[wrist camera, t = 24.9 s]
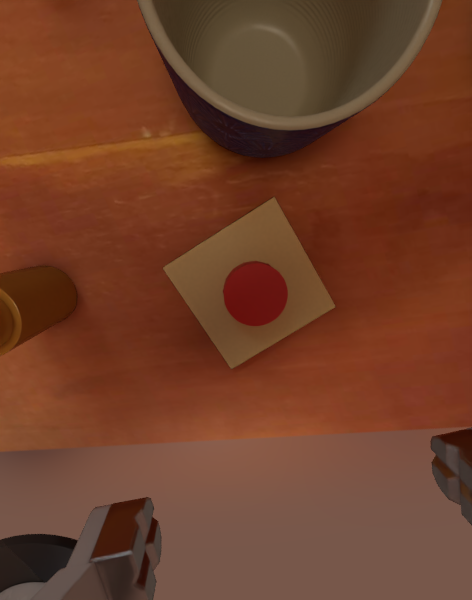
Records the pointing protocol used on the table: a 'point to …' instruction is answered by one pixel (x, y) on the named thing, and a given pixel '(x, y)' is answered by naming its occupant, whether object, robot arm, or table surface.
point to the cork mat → (234, 251)
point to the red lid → (255, 293)
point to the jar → (32, 303)
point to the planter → (283, 63)
